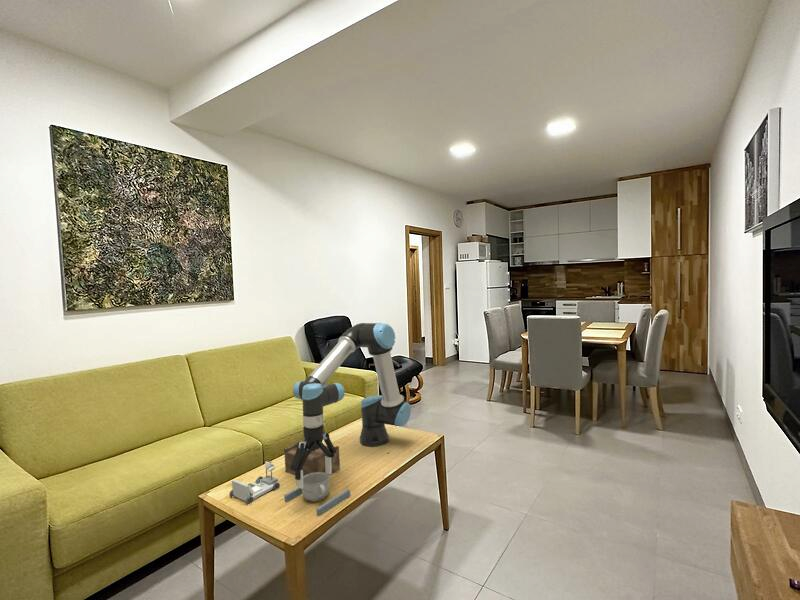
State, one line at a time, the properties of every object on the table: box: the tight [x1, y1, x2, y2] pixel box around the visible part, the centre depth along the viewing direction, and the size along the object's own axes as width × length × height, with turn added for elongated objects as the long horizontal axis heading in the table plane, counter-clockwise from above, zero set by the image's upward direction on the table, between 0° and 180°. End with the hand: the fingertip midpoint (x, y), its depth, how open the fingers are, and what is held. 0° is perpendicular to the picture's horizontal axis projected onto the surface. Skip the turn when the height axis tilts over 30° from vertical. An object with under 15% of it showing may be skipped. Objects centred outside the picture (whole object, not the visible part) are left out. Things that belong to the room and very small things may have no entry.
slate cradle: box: [284, 487, 351, 517], centre depth 154 cm, size 16×19×2 cm
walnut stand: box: [283, 439, 341, 476], centre depth 178 cm, size 14×20×10 cm
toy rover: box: [229, 459, 281, 506], centre depth 162 cm, size 18×10×12 cm
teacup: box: [301, 472, 331, 503], centre depth 154 cm, size 14×11×8 cm
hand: (314, 480), depth 153 cm, fingers open, 13 cm apart
